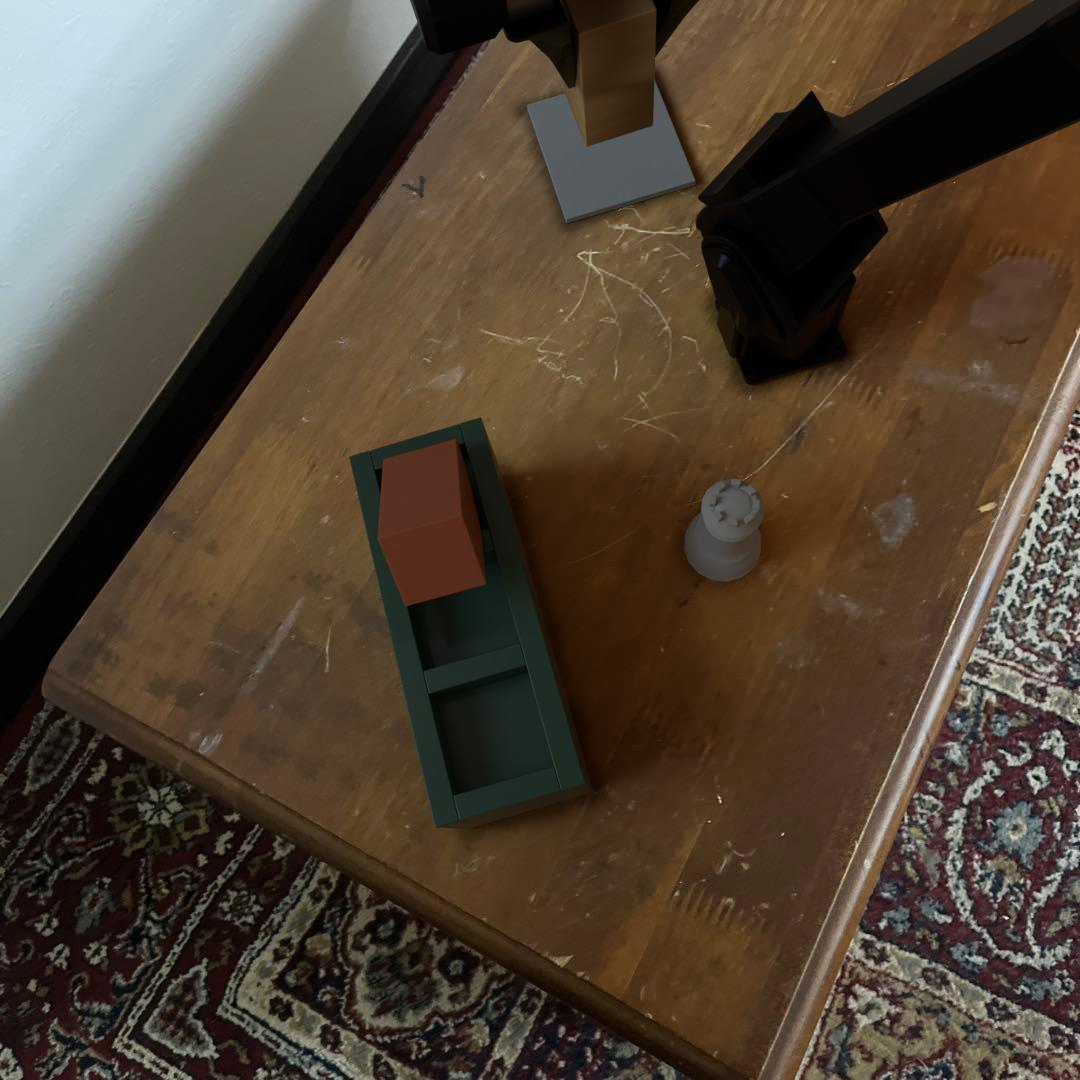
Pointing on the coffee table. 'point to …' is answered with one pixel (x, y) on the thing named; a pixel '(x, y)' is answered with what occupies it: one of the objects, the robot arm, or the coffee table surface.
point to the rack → (478, 661)
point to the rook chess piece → (726, 531)
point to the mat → (608, 160)
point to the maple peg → (612, 66)
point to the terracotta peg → (430, 523)
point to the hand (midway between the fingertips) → (607, 69)
